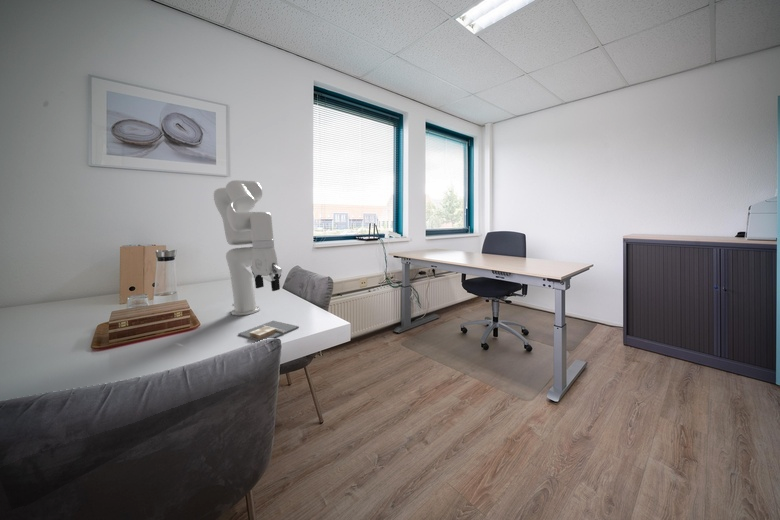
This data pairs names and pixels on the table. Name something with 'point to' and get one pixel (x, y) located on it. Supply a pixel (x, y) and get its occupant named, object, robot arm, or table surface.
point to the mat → (279, 326)
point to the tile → (262, 332)
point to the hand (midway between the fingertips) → (267, 288)
